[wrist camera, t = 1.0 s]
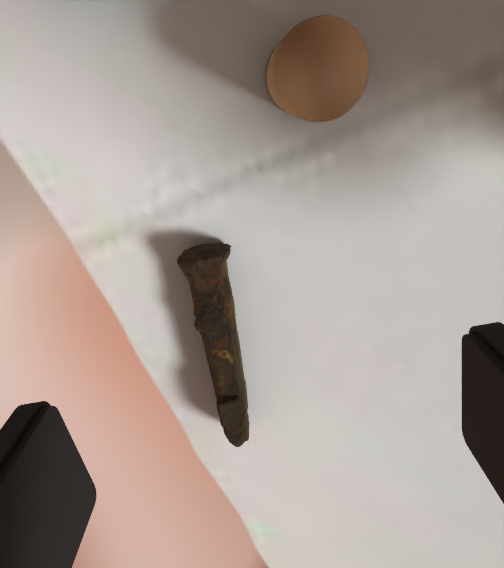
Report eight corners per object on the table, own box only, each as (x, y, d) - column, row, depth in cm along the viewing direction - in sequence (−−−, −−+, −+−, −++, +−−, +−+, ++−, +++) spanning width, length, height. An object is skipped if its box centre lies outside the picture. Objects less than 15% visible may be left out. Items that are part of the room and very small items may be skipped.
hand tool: (180, 242, 35) (172, 263, 31) (230, 237, 35) (228, 257, 31) (212, 424, 43) (209, 461, 38) (253, 420, 42) (254, 457, 38)
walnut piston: (318, 19, 29) (346, -6, 21) (348, 92, 30) (383, 92, 23) (252, 59, 30) (256, 49, 22) (285, 128, 31) (299, 139, 24)
